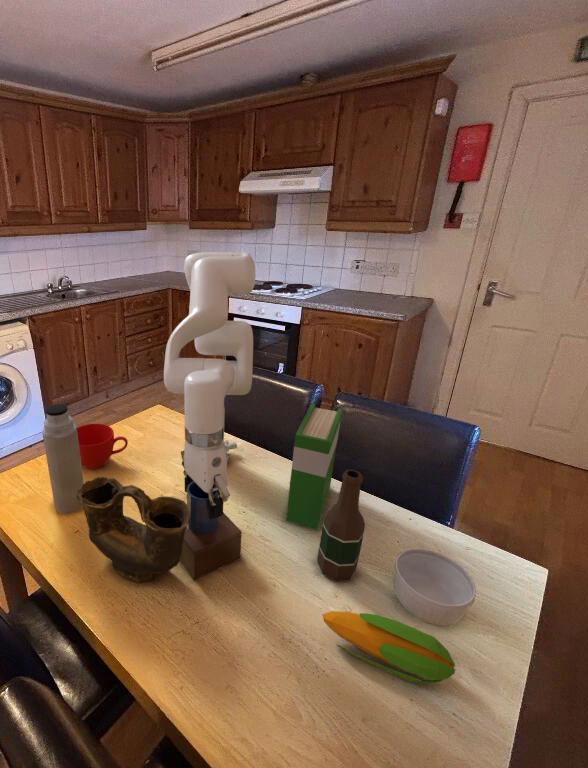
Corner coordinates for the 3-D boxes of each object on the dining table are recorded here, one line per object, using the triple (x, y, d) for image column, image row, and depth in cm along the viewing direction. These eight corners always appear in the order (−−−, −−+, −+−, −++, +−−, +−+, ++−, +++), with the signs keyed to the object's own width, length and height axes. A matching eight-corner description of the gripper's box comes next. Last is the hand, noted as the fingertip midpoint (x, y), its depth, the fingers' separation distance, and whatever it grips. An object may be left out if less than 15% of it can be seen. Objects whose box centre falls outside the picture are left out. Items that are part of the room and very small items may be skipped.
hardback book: (302, 480, 115) (311, 403, 106) (329, 488, 112) (342, 408, 102) (285, 520, 101) (295, 434, 91) (317, 530, 98) (330, 442, 88)
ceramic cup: (126, 475, 119) (124, 445, 115) (67, 475, 119) (63, 446, 115) (131, 451, 131) (129, 423, 127) (78, 451, 131) (74, 423, 127)
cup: (207, 508, 94) (208, 475, 90) (224, 527, 89) (225, 492, 85) (181, 518, 91) (181, 485, 88) (197, 538, 86) (197, 503, 82)
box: (166, 540, 96) (166, 517, 93) (209, 523, 100) (209, 500, 98) (194, 580, 85) (194, 555, 83) (240, 558, 90) (241, 534, 88)
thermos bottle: (61, 493, 112) (46, 399, 101) (89, 494, 111) (78, 400, 100) (49, 513, 105) (32, 414, 94) (80, 514, 104) (67, 416, 93)
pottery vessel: (74, 562, 90) (62, 487, 82) (103, 529, 99) (95, 459, 91) (177, 605, 80) (175, 525, 72) (199, 565, 89) (200, 489, 81)
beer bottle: (354, 558, 90) (374, 465, 80) (356, 587, 83) (377, 490, 73) (317, 550, 92) (331, 459, 83) (315, 577, 85) (331, 481, 76)
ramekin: (469, 646, 72) (480, 618, 69) (385, 613, 78) (392, 586, 75) (464, 588, 82) (473, 562, 80) (390, 564, 88) (396, 539, 86)
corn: (463, 673, 60) (321, 616, 69) (451, 708, 63) (315, 650, 71) (458, 632, 66) (328, 585, 75) (446, 666, 69) (322, 617, 78)
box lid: (165, 515, 93) (164, 513, 93) (208, 499, 98) (208, 496, 98) (194, 555, 83) (194, 552, 82) (241, 534, 88) (241, 531, 87)
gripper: (246, 449, 76) (241, 522, 82) (197, 411, 90) (197, 476, 97) (211, 460, 72) (209, 535, 79) (166, 419, 87) (168, 486, 93)
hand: (203, 503), depth 88 cm, fingers open, 9 cm apart
